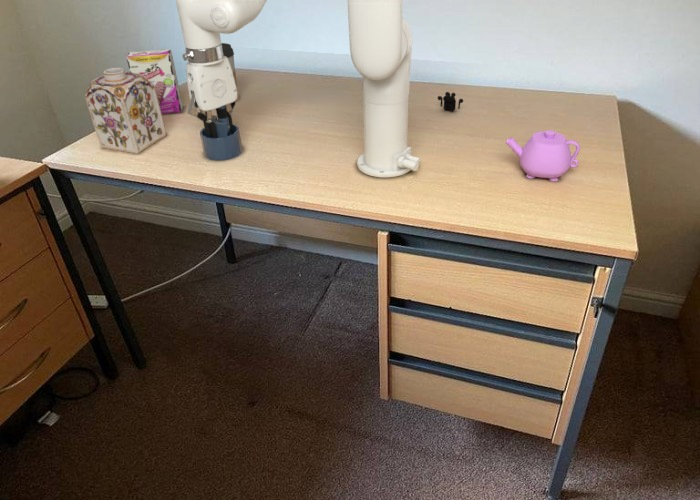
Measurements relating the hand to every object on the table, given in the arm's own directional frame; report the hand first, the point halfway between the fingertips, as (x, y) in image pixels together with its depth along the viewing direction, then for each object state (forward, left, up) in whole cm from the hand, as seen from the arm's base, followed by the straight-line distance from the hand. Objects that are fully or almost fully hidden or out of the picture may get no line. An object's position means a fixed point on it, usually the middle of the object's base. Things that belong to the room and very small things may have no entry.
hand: (220, 133), depth 126 cm
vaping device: (0, 0, -4) cm, 4 cm away
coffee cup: (+28, -23, -5) cm, 37 cm away
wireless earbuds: (-29, -53, -5) cm, 61 cm away
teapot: (-63, -35, -5) cm, 72 cm away
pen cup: (0, 0, -5) cm, 5 cm away
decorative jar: (+23, +10, -5) cm, 26 cm away
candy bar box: (+35, -6, -5) cm, 36 cm away
